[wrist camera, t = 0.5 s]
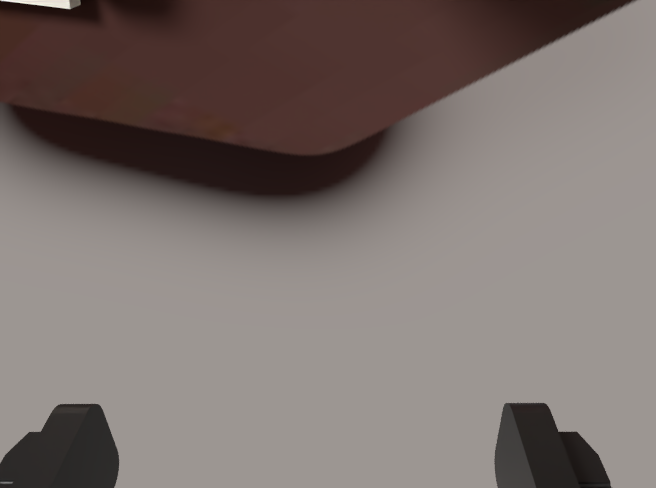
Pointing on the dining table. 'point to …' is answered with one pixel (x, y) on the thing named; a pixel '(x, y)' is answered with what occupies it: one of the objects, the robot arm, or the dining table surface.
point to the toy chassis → (51, 3)
